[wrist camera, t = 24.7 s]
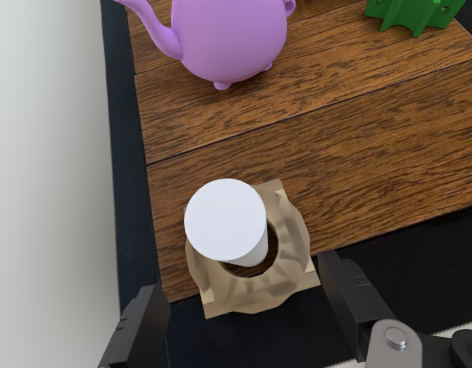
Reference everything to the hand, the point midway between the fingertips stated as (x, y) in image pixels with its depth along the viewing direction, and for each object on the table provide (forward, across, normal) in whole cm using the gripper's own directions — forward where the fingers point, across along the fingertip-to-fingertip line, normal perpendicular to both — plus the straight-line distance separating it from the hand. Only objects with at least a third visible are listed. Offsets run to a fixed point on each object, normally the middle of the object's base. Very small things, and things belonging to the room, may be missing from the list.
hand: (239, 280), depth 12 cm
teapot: (+32, -2, -12) cm, 34 cm away
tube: (+12, 0, +8) cm, 15 cm away
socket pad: (+12, 0, +8) cm, 15 cm away
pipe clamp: (+32, -28, -11) cm, 44 cm away
